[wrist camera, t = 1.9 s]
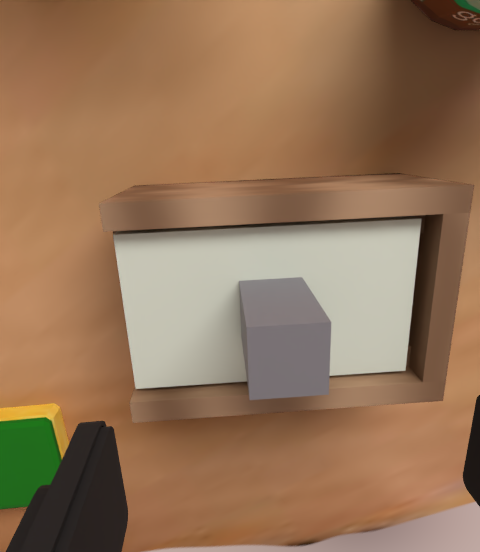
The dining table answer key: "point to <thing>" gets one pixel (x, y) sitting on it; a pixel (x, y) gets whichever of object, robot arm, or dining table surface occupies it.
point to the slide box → (316, 207)
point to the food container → (452, 13)
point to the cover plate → (207, 298)
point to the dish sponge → (29, 451)
